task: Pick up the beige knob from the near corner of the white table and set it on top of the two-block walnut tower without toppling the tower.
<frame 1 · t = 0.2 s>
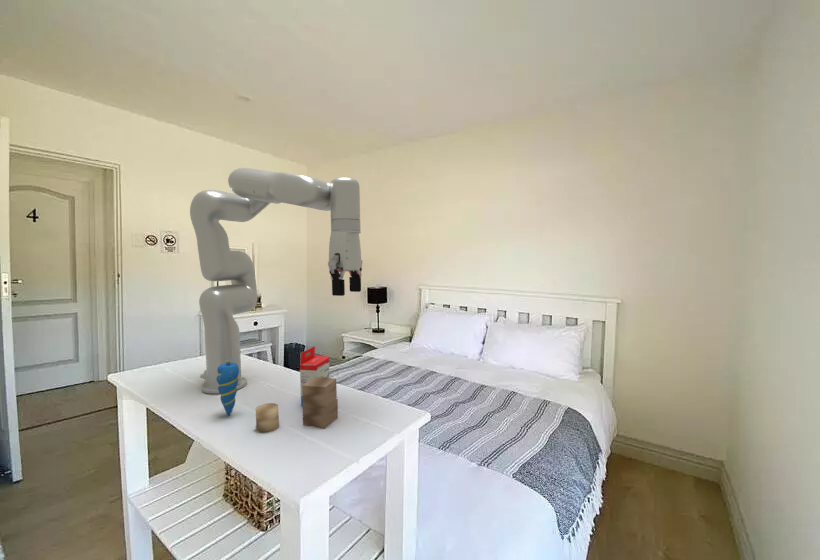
hand: (347, 293, 94), 31 cm above the table, fingers open, 9 cm apart
beige knob: (267, 427, 85), on the table
ink box: (316, 401, 101), on the table
bottom block: (320, 421, 88), on the table, touching top block
top block: (320, 401, 88), point 5 cm above the table, touching bottom block
ornament: (229, 416, 92), on the table
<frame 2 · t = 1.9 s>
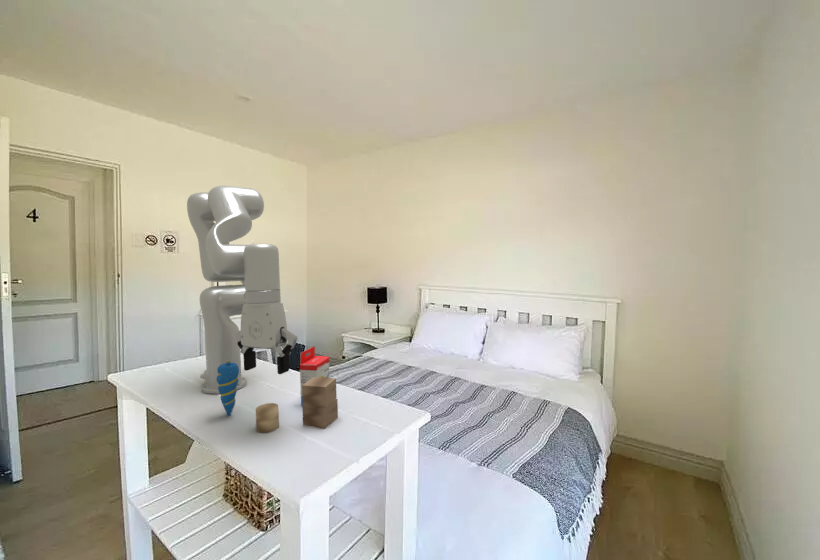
hand: (266, 370, 84), 14 cm above the table, fingers open, 9 cm apart
nothing on the table moved.
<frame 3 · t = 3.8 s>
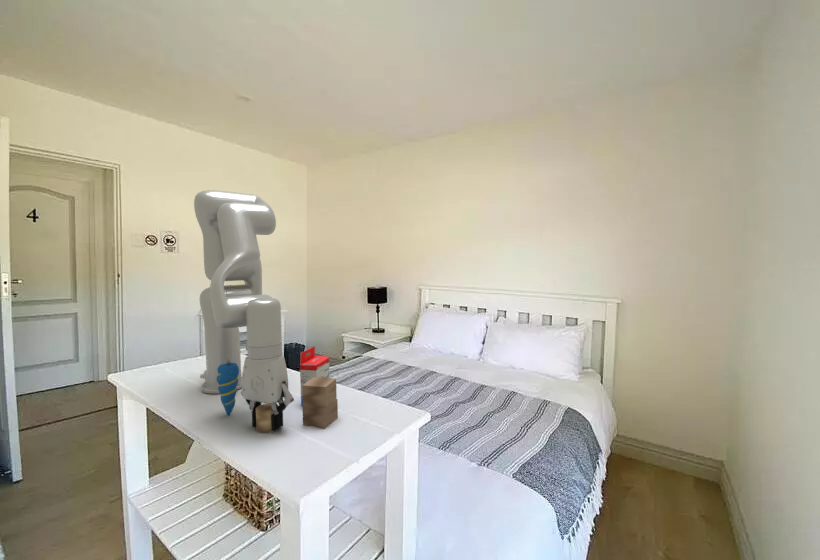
hand: (267, 425, 85), 0 cm above the table, fingers closed on beige knob, 5 cm apart
beige knob: (267, 427, 85), on the table, touching gripper
everything else where it was.
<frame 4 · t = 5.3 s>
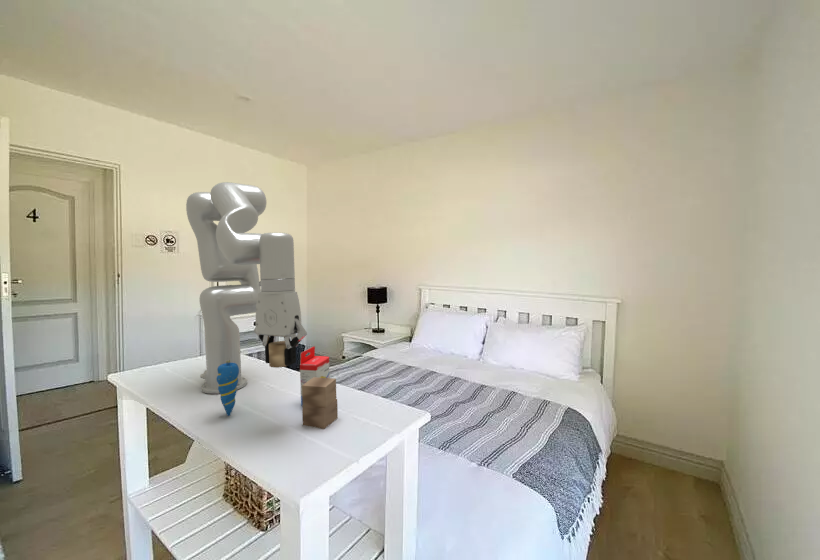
hand: (280, 362, 85), 16 cm above the table, fingers closed on beige knob, 5 cm apart
beige knob: (280, 364, 85), point 15 cm above the table, touching gripper
everything else where it was.
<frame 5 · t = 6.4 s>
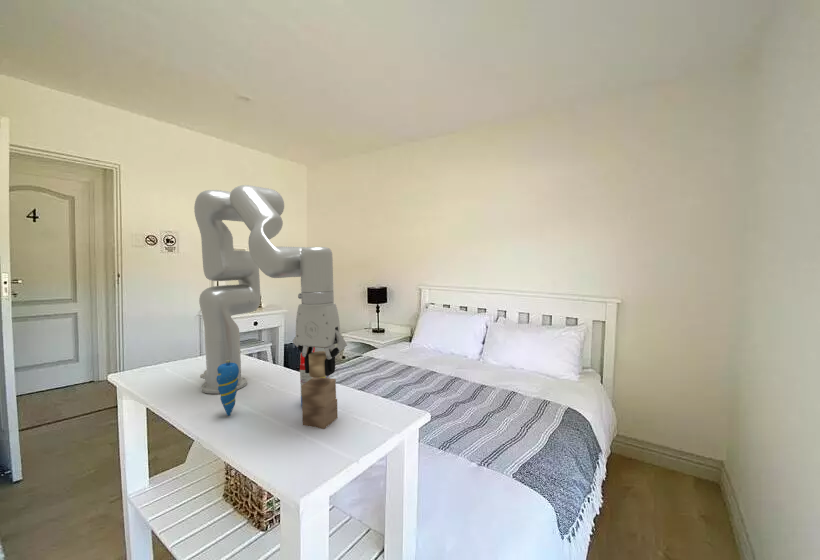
hand: (320, 372, 87), 12 cm above the table, fingers closed on beige knob, 5 cm apart
beige knob: (319, 374, 87), point 12 cm above the table, touching gripper
everything else where it was.
when the fingers open (11 cm above the table, at t = 6.9 s): beige knob stays where it is, resting on top block.
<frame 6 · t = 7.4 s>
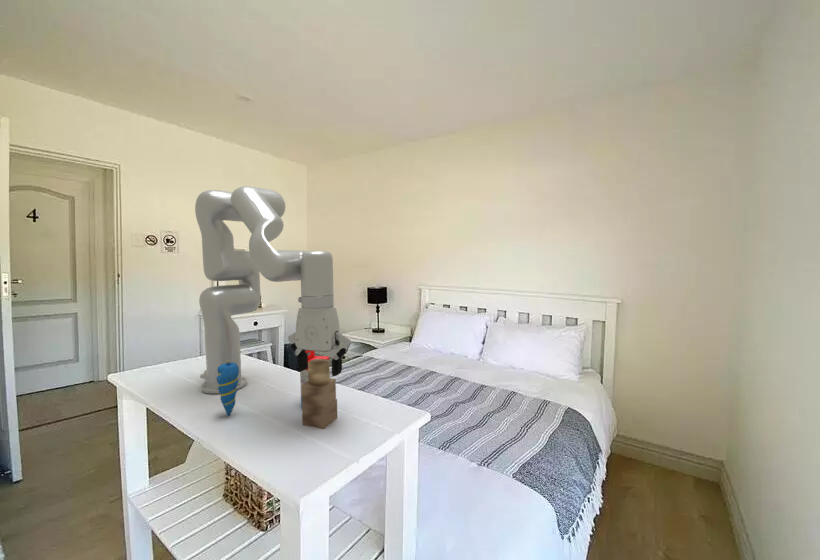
hand: (319, 372, 87), 12 cm above the table, fingers open, 9 cm apart
beige knob: (319, 381, 88), point 10 cm above the table, touching top block
top block: (319, 402, 88), point 5 cm above the table, touching bottom block, beige knob
everything else where it was.
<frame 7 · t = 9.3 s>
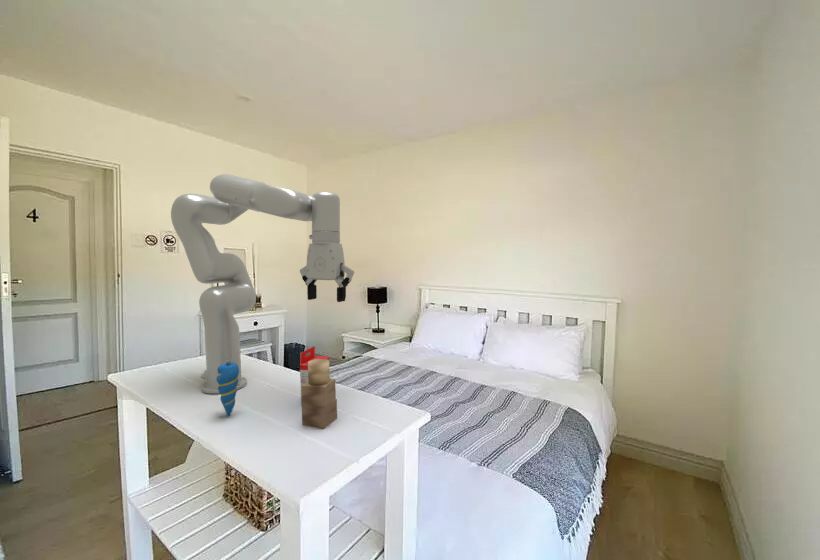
hand: (326, 300, 100), 28 cm above the table, fingers open, 9 cm apart
nothing on the table moved.
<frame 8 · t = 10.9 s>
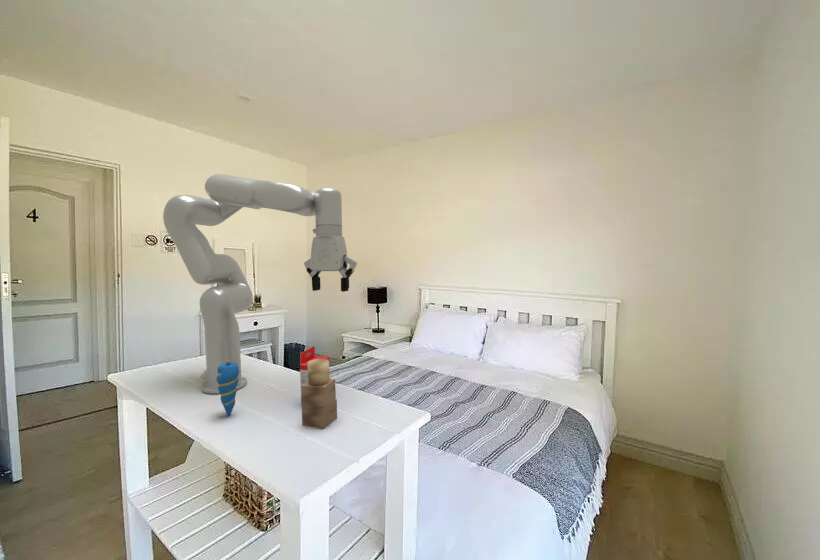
hand: (330, 290, 106), 30 cm above the table, fingers open, 9 cm apart
nothing on the table moved.
at the end: beige knob 0.1 cm off-centre on the top block, point 5.0 cm above the top block's base; top block tilted 0°; top block 0.1 cm off-centre on the bottom block, point 5.0 cm above the bottom block's base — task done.
